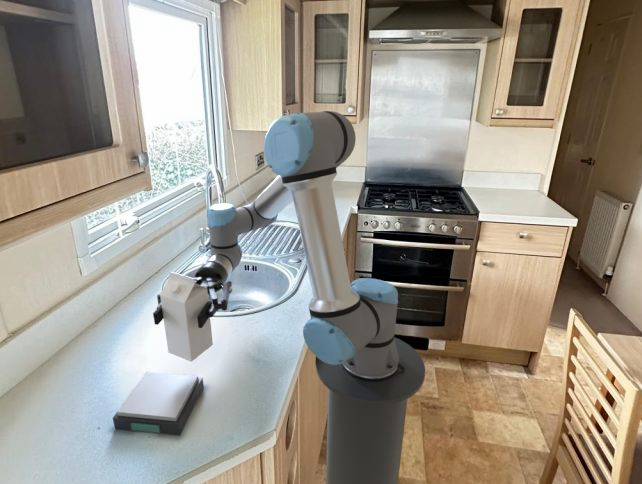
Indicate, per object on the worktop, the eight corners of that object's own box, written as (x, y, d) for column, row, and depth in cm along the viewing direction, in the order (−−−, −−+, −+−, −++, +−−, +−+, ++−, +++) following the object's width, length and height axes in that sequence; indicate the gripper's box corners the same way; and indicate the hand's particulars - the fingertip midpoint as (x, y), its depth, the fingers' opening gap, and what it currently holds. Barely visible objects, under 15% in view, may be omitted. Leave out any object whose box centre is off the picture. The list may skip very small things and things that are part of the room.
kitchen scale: (203, 387, 95) (202, 374, 94) (178, 437, 82) (176, 422, 81) (147, 383, 97) (144, 369, 96) (113, 430, 84) (110, 415, 82)
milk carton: (190, 336, 98) (181, 265, 91) (213, 345, 95) (205, 272, 88) (168, 353, 92) (157, 278, 86) (191, 362, 89) (182, 285, 82)
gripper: (254, 289, 107) (228, 339, 86) (175, 284, 109) (131, 331, 89) (253, 263, 104) (226, 308, 83) (172, 258, 107) (126, 301, 86)
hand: (177, 320), depth 86 cm, fingers closed on milk carton, 9 cm apart
